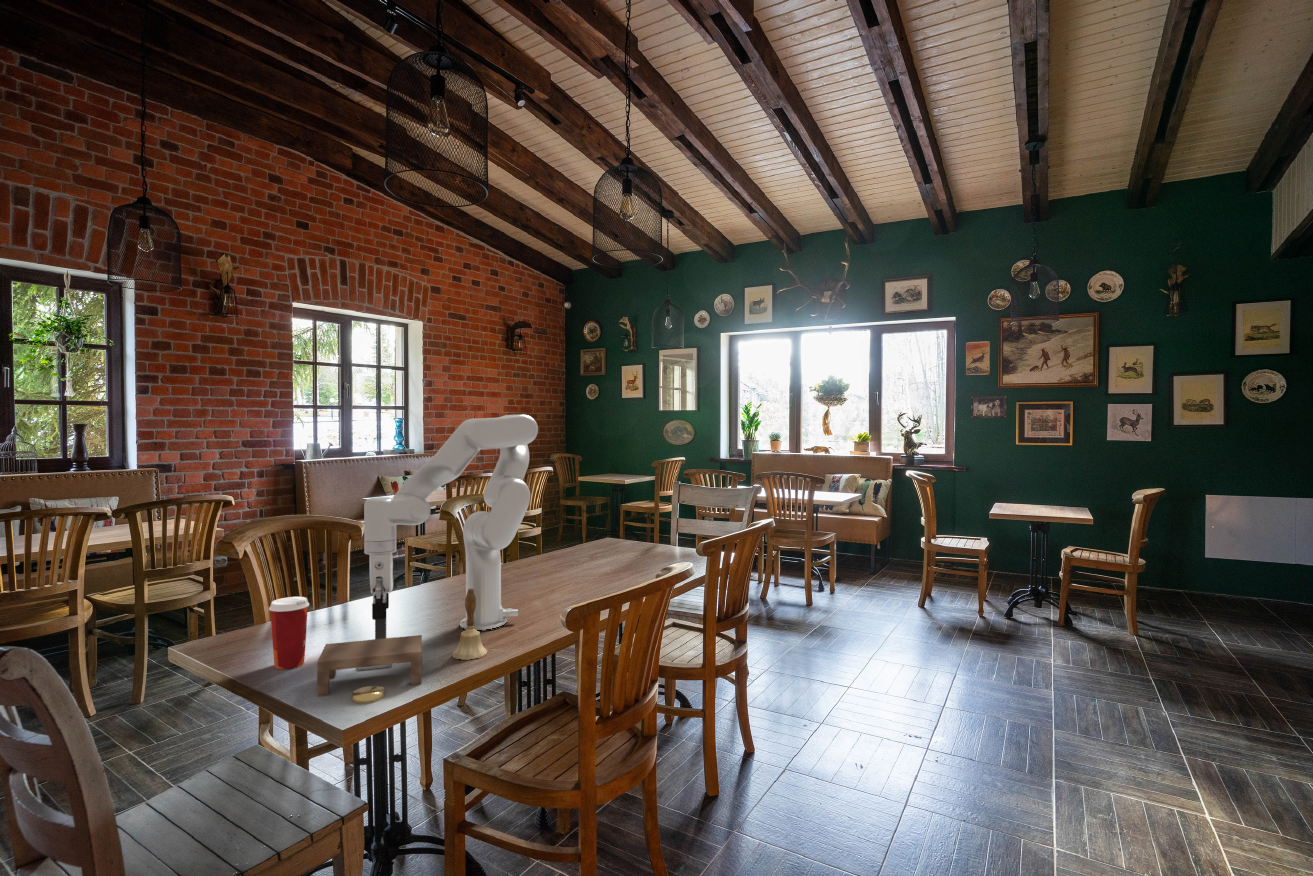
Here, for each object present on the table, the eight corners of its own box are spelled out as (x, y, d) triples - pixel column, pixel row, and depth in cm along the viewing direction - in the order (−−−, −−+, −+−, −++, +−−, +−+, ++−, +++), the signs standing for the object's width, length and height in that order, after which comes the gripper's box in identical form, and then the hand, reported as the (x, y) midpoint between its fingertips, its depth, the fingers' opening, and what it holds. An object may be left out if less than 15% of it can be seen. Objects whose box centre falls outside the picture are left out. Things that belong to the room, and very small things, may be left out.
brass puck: (384, 691, 137) (384, 684, 137) (383, 702, 132) (383, 695, 132) (353, 695, 135) (353, 688, 135) (350, 707, 129) (350, 699, 129)
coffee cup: (317, 661, 154) (317, 597, 154) (287, 673, 146) (287, 606, 146) (290, 657, 157) (290, 594, 157) (259, 668, 149) (259, 603, 149)
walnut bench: (421, 665, 152) (421, 635, 152) (421, 684, 140) (421, 651, 140) (326, 675, 145) (325, 644, 145) (317, 696, 134) (317, 662, 134)
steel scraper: (395, 641, 169) (395, 583, 169) (392, 667, 151) (392, 601, 151) (366, 644, 166) (366, 585, 166) (359, 671, 148) (358, 604, 148)
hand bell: (493, 650, 162) (493, 586, 162) (477, 661, 154) (477, 594, 154) (463, 647, 164) (463, 584, 164) (445, 659, 156) (445, 592, 156)
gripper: (394, 551, 159) (394, 621, 159) (397, 540, 175) (398, 604, 176) (361, 553, 157) (361, 624, 157) (367, 541, 173) (367, 606, 173)
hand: (380, 613), depth 166 cm, fingers open, 9 cm apart
